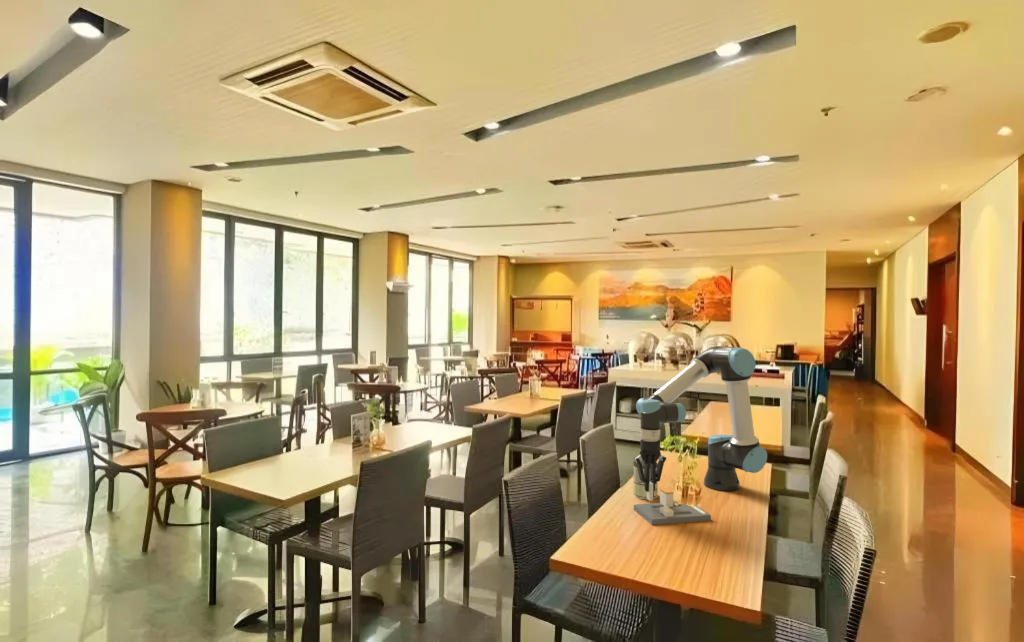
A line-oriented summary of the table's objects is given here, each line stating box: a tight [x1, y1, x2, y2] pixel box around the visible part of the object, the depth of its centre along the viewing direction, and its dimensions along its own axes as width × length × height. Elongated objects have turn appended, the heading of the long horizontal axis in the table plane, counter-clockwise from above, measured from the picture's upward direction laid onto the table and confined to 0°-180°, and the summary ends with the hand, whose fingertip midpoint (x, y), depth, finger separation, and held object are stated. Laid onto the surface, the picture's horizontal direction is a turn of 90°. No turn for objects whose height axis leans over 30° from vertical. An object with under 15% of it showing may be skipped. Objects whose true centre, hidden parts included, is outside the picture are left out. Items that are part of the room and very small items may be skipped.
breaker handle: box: [659, 487, 674, 507], centre depth 213 cm, size 3×5×6 cm, turn 11°
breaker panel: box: [633, 501, 712, 526], centre depth 209 cm, size 24×16×4 cm, turn 101°
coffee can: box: [632, 459, 659, 500], centre depth 232 cm, size 10×10×14 cm
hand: (649, 499), depth 212 cm, fingers closed
